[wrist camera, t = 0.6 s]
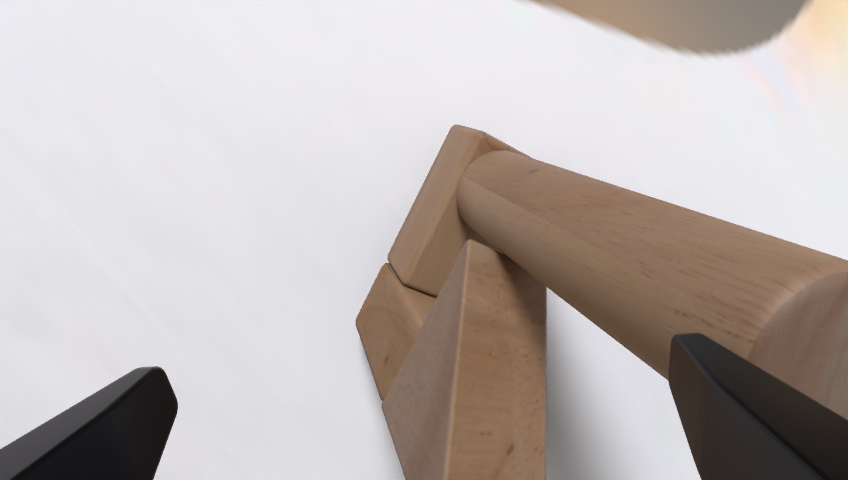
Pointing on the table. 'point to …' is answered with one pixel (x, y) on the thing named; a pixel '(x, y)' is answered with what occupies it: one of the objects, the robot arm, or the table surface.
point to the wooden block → (570, 302)
